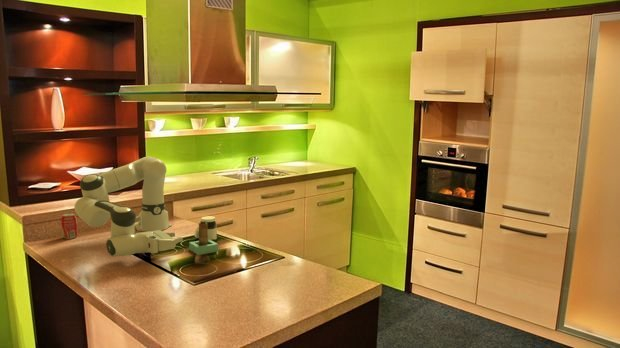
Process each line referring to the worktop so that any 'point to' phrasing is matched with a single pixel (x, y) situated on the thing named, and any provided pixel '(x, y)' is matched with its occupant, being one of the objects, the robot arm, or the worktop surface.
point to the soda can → (69, 226)
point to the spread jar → (209, 228)
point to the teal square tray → (203, 247)
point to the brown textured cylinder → (203, 233)
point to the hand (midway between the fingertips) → (178, 236)
